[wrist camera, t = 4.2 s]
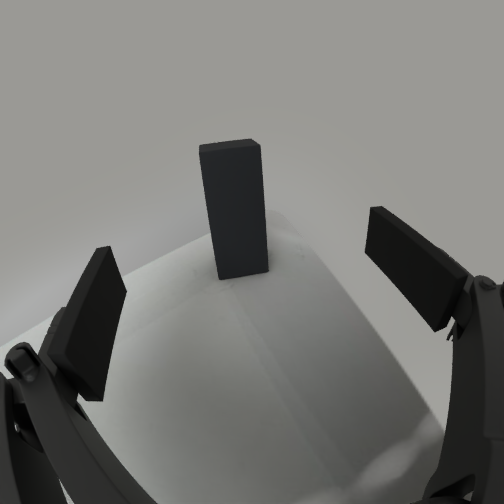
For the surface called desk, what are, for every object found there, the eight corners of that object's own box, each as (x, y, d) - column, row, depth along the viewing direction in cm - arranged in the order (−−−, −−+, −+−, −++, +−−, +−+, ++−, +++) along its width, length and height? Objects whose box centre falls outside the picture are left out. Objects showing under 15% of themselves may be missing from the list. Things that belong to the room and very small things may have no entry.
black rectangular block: (260, 250, 25) (251, 138, 20) (268, 272, 22) (260, 144, 17) (216, 257, 25) (199, 145, 20) (219, 280, 22) (198, 152, 17)
